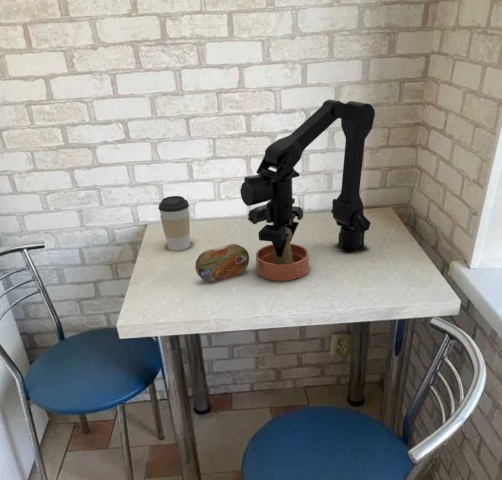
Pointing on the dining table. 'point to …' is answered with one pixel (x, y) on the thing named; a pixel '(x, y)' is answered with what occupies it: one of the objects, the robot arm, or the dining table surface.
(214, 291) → the dining table surface
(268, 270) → the bowl
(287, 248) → the cork
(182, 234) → the coffee cup
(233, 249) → the tin
